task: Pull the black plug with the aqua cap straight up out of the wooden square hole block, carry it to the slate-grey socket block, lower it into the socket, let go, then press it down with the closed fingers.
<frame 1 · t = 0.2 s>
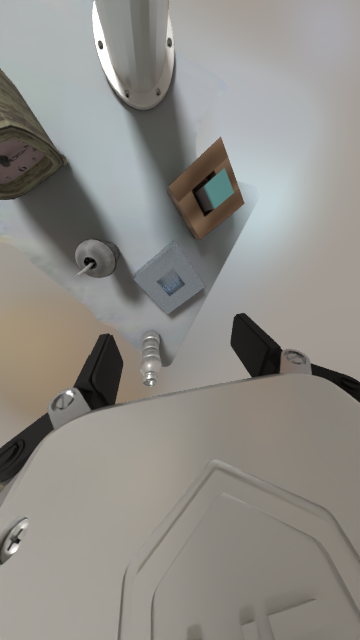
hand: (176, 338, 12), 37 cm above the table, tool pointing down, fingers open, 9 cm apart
plug: (202, 198, 36), point 1 cm above the table, touching wooden square hole block
tabletop clock: (31, 159, 30), on the table
beverage cup: (110, 251, 40), on the table
socket block: (169, 276, 46), on the table
wooden square hole block: (201, 199, 37), on the table
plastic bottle: (150, 335, 56), on the table
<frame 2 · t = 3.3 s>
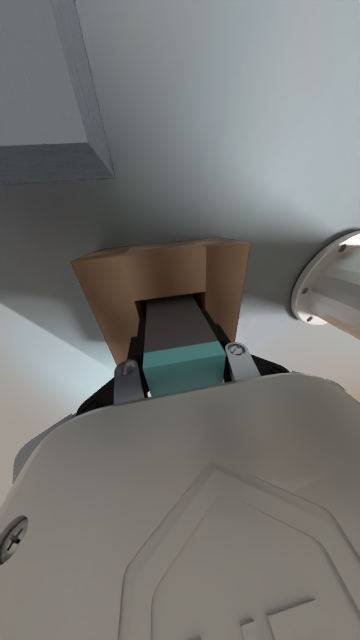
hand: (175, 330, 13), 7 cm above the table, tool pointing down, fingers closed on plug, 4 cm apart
plug: (168, 301, 17), point 1 cm above the table, touching gripper, wooden square hole block
wooden square hole block: (168, 298, 18), on the table
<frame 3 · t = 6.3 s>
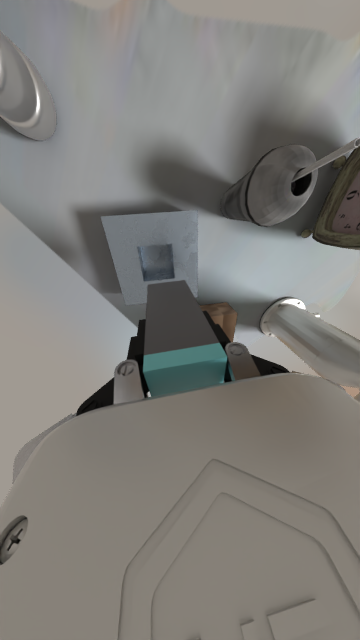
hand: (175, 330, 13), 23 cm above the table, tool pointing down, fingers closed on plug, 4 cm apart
plug: (168, 299, 17), point 17 cm above the table, touching gripper
tabletop clock: (327, 204, 30), on the table
beverage cup: (231, 204, 28), on the table
socket block: (156, 257, 31), on the table
wooden square hole block: (203, 324, 41), on the table
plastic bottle: (36, 111, 20), on the table
when the fingers open (8 cm above the table, at t = 9.1 s): plug stays where it is, resting on socket block.
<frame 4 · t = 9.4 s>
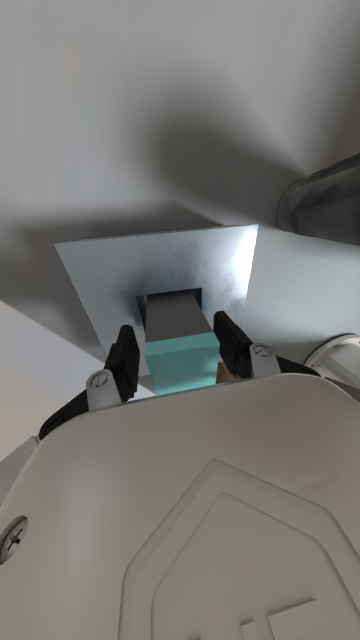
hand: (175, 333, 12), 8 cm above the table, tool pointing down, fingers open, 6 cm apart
plug: (167, 295, 18), point 1 cm above the table, touching socket block
beverage cup: (295, 207, 16), on the table
socket block: (167, 295, 19), on the table
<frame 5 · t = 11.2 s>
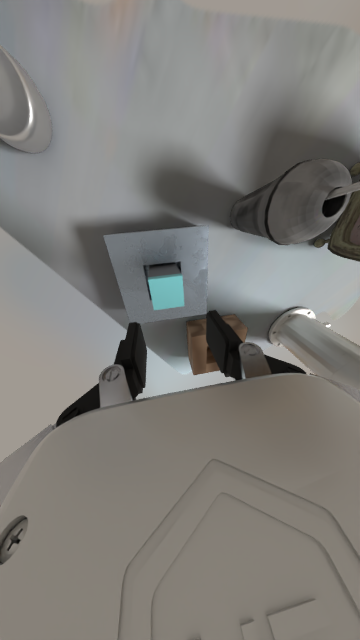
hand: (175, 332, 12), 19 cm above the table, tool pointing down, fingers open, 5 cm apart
plug: (162, 271, 28), point 1 cm above the table, touching socket block
tabletop clock: (341, 212, 28), on the table
beverage cup: (242, 214, 26), on the table
socket block: (162, 272, 29), on the table
wooden square hole block: (209, 337, 39), on the table
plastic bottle: (28, 120, 18), on the table
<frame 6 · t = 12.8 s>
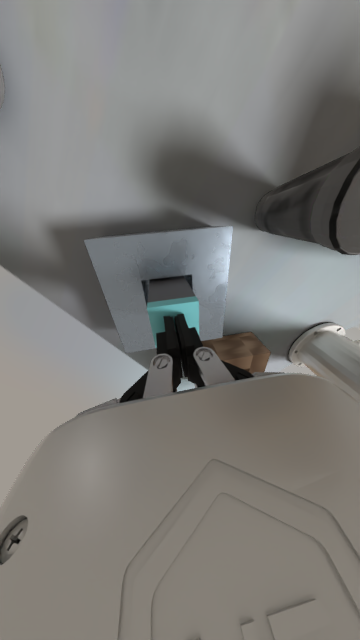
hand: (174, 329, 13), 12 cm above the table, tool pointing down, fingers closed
plug: (166, 284, 22), point 1 cm above the table, touching gripper, socket block
beverage cup: (270, 212, 20), on the table
socket block: (166, 284, 23), on the table
wooden square hole block: (221, 357, 33), on the table
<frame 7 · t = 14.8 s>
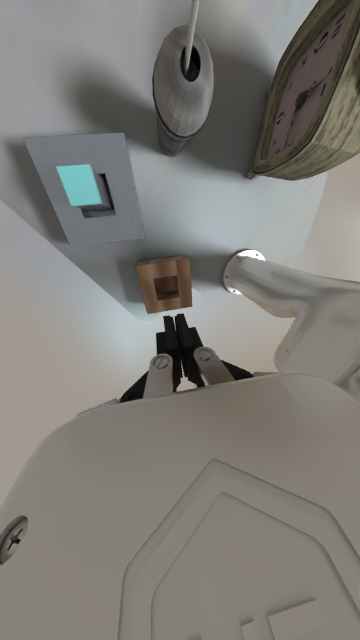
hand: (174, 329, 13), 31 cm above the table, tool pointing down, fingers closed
plug: (101, 198, 29), point 1 cm above the table, touching socket block
tabletop clock: (269, 141, 30), on the table
beverage cup: (170, 139, 28), on the table
socket block: (103, 201, 31), on the table
wooden square hole block: (164, 281, 41), on the table
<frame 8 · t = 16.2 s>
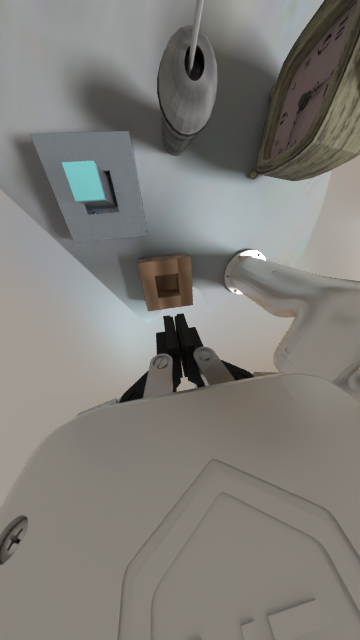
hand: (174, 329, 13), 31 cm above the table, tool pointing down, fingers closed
plug: (105, 195, 30), point 1 cm above the table, touching socket block
tabletop clock: (272, 142, 31), on the table
beverage cup: (174, 139, 28), on the table
socket block: (107, 198, 31), on the table
wooden square hole block: (166, 279, 42), on the table
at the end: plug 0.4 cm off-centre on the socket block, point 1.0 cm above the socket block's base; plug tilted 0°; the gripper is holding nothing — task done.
